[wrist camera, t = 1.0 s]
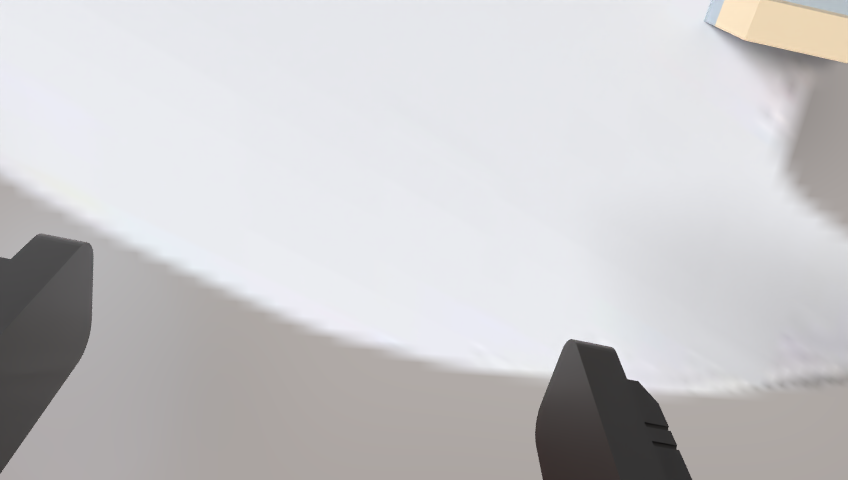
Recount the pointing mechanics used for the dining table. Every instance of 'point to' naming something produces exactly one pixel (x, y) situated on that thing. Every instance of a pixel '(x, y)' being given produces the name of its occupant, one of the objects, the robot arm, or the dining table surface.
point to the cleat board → (787, 24)
